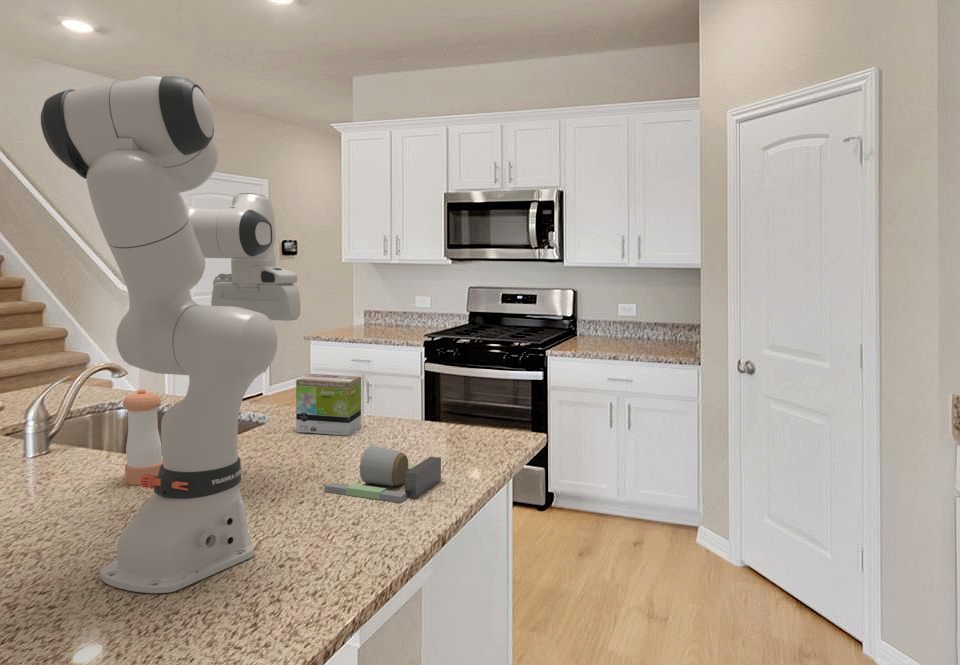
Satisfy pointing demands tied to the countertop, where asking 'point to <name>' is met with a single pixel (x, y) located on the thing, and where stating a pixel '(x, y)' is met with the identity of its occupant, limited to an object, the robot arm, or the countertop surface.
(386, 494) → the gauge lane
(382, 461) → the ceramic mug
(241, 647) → the countertop surface
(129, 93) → the robot arm
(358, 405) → the tea box
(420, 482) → the dark grey rectangular block
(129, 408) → the pepper shaker
